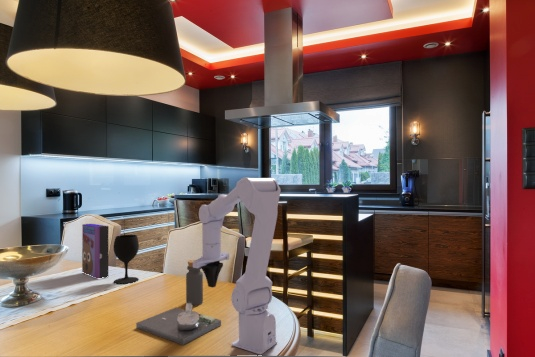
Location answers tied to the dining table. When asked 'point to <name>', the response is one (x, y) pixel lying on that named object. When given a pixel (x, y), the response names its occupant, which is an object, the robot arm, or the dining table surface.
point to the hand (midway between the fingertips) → (212, 286)
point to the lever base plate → (168, 329)
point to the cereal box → (95, 250)
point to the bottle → (194, 285)
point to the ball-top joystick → (188, 318)
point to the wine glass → (126, 254)
